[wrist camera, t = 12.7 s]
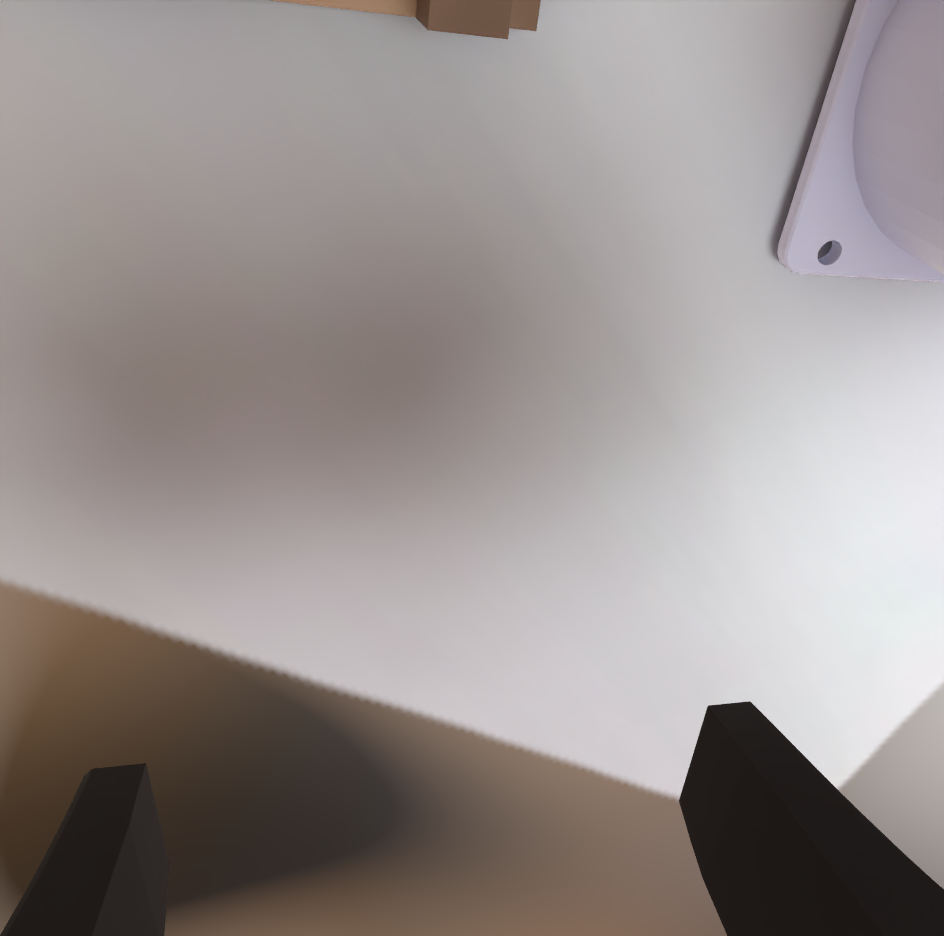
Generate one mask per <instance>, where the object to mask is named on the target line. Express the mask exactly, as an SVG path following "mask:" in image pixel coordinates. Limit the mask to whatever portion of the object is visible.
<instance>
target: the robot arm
mask: <svg viewBox="0 0 944 936" xmlns="http://www.w3.org/2000/svg"><path fill="white" fill-rule="evenodd" d="M828 241H832V247H831V249H830V250H829V252H828V253H827V254H826V255H825V256H823V257H822V258H818V252H819V250H820V248H821V247H822V246H823V245H824V244H825V243H827V242H828ZM777 255H778V258H779V261H780V262H781V263H782V264H783V265H784V266H785V267H786V268H787V269H789V270H790V271H791V272H794V273H798V274H809V275H826V276H843V277H860V278H877V279H894V280H911V281H928V282H944V0H856V3H855V6H854V9H853V12H852V15H851V18H850V21H849V24H848V28H847V31H846V34H845V37H844V40H843V43H842V46H841V50H840V53H839V56H838V59H837V62H836V65H835V68H834V71H833V75H832V78H831V81H830V84H829V87H828V90H827V93H826V97H825V100H824V103H823V106H822V109H821V112H820V115H819V119H818V122H817V125H816V128H815V131H814V134H813V137H812V140H811V144H810V147H809V150H808V153H807V156H806V159H805V162H804V166H803V169H802V172H801V175H800V178H799V181H798V184H797V188H796V191H795V194H794V197H793V200H792V203H791V206H790V209H789V213H788V216H787V219H786V222H785V225H784V228H783V231H782V235H781V238H780V241H779V244H778V251H777ZM679 802H680V806H681V809H682V812H683V816H684V819H685V823H686V826H687V830H688V833H689V836H690V840H691V843H692V846H693V849H694V852H695V856H696V859H697V862H698V865H699V868H700V871H701V874H702V877H703V880H704V882H705V884H706V887H707V889H708V892H709V894H710V896H711V899H712V901H713V903H714V906H715V908H716V910H717V913H718V915H719V917H720V920H721V922H722V924H723V926H724V928H725V931H726V933H727V936H944V889H943V888H941V887H940V886H939V885H938V884H937V883H936V882H935V881H933V880H932V879H931V878H930V877H929V876H928V875H927V874H925V873H924V872H923V871H922V870H921V869H920V868H919V867H918V866H917V865H916V864H914V862H912V861H911V860H910V859H909V858H908V857H907V856H906V855H905V854H904V853H903V852H902V851H901V850H900V849H898V848H897V847H896V846H895V845H894V844H893V843H892V842H891V841H890V840H889V839H888V838H887V837H886V836H885V835H884V834H883V833H882V832H881V831H880V830H879V829H878V828H876V827H875V826H874V825H873V824H872V823H871V822H870V821H869V820H868V819H867V818H866V817H865V816H864V815H863V814H862V813H861V812H860V811H859V810H858V809H857V808H855V807H854V805H853V804H852V803H851V802H850V801H849V800H847V799H846V798H845V797H844V796H843V795H842V794H841V793H840V792H839V791H838V790H837V789H836V788H835V787H834V786H833V785H832V784H831V783H830V782H829V781H828V780H827V779H826V778H825V777H824V776H823V775H822V774H821V773H820V772H819V771H818V770H817V769H816V768H815V767H814V766H813V765H812V764H811V762H810V761H809V760H808V759H807V758H806V757H805V756H804V755H803V754H802V753H801V752H800V751H799V750H798V749H797V748H796V747H795V746H794V745H793V744H792V743H791V742H790V741H789V740H788V739H787V738H786V737H785V736H784V735H783V734H782V733H781V732H780V731H779V730H778V729H777V728H776V727H775V726H774V725H773V724H772V723H771V722H770V721H769V720H768V719H767V718H766V717H765V716H764V715H763V714H762V713H761V712H760V711H759V710H758V709H757V708H756V707H755V706H754V705H753V704H752V703H751V702H740V703H730V704H721V705H711V706H708V707H707V711H706V714H705V717H704V721H703V724H702V727H701V730H700V734H699V737H698V740H697V744H696V747H695V750H694V753H693V757H692V760H691V763H690V767H689V770H688V773H687V776H686V780H685V783H684V786H683V790H682V793H681V796H680V800H679ZM168 872H169V860H168V856H167V852H166V848H165V843H164V839H163V835H162V830H161V826H160V822H159V818H158V813H157V809H156V805H155V801H154V796H153V792H152V787H151V783H150V779H149V775H148V770H147V766H146V764H136V765H126V766H116V767H106V768H96V769H92V770H90V771H89V772H88V773H87V774H86V775H85V776H84V777H83V779H82V782H81V784H80V786H79V788H78V790H77V792H76V795H75V797H74V799H73V802H72V803H71V805H70V808H69V809H68V811H67V813H66V816H65V817H64V820H63V822H62V823H61V825H60V828H59V829H58V831H57V833H56V835H55V837H54V839H53V841H52V843H51V845H50V847H49V849H48V851H47V853H46V855H45V857H44V858H43V860H42V862H41V864H40V866H39V868H38V870H37V871H36V873H35V875H34V877H33V879H32V880H31V882H30V884H29V886H28V888H27V890H26V892H25V893H24V895H23V897H22V899H21V900H20V902H19V904H18V906H17V907H16V909H15V911H14V912H13V914H12V916H11V917H10V919H9V921H8V923H7V924H6V926H5V928H4V930H3V932H2V933H1V935H0V936H164V930H165V918H166V917H165V916H166V903H167V888H168Z"/></svg>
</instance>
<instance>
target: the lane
mask: <svg viewBox="0 0 944 936" xmlns="http://www.w3.org/2000/svg"><path fill="white" fill-rule="evenodd" d="M272 1H281V2H289V3H298V4H307V5H315V6H324V7H333V8H341V9H350V10H358V11H367V12H376V13H384V14H393V15H402V16H410V17H416V18H417V19H418V20H419V21H420V22H421V23H422V24H423V25H424V26H425V28H426V29H427V30H432V31H441V32H450V33H459V34H467V35H476V36H485V37H494V38H503V39H508V33H509V28H514V29H522V30H531V31H536V28H537V21H538V14H539V7H540V0H272Z"/></svg>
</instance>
